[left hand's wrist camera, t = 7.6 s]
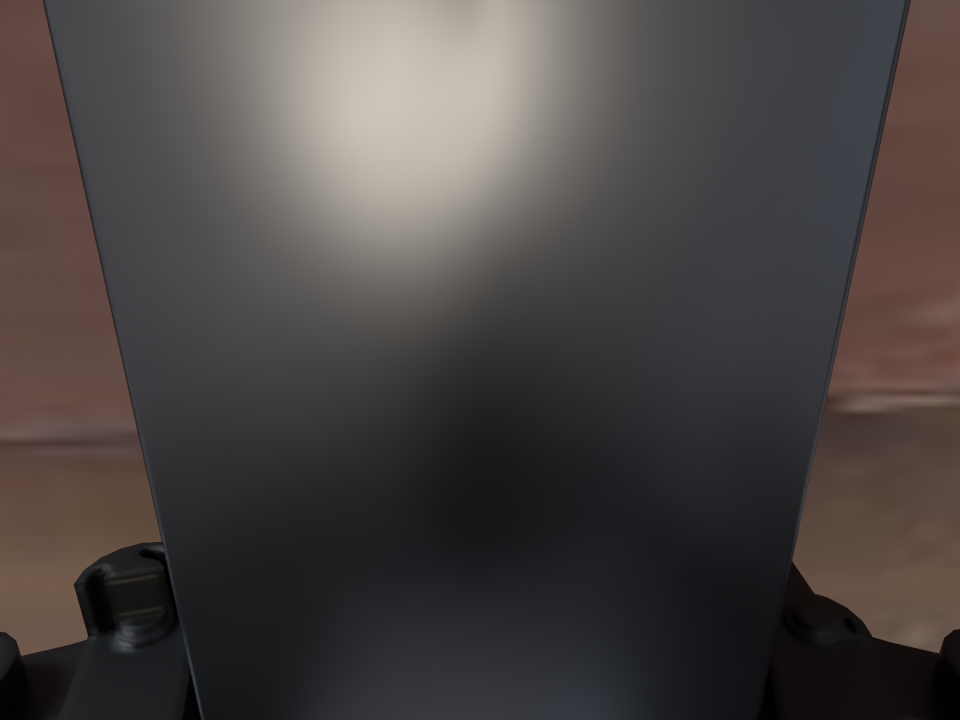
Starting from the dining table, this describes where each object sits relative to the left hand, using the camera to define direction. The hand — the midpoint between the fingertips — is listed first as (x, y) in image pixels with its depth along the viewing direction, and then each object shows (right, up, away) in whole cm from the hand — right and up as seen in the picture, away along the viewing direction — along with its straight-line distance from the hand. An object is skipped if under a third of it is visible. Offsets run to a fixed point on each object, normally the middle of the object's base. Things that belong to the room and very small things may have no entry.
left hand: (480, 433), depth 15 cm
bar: (0, +8, -2) cm, 8 cm away
